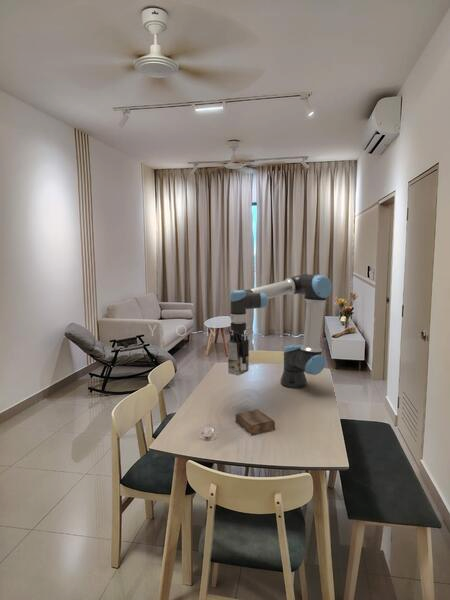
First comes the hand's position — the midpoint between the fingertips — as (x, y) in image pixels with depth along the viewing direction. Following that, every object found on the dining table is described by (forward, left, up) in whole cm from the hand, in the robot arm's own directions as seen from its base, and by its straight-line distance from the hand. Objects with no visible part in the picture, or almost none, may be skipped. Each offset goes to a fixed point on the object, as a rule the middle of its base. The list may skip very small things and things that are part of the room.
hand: (238, 367), depth 189 cm
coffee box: (0, 0, -3) cm, 3 cm away
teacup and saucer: (+23, +21, -21) cm, 38 cm away
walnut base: (+3, +21, -21) cm, 30 cm away
